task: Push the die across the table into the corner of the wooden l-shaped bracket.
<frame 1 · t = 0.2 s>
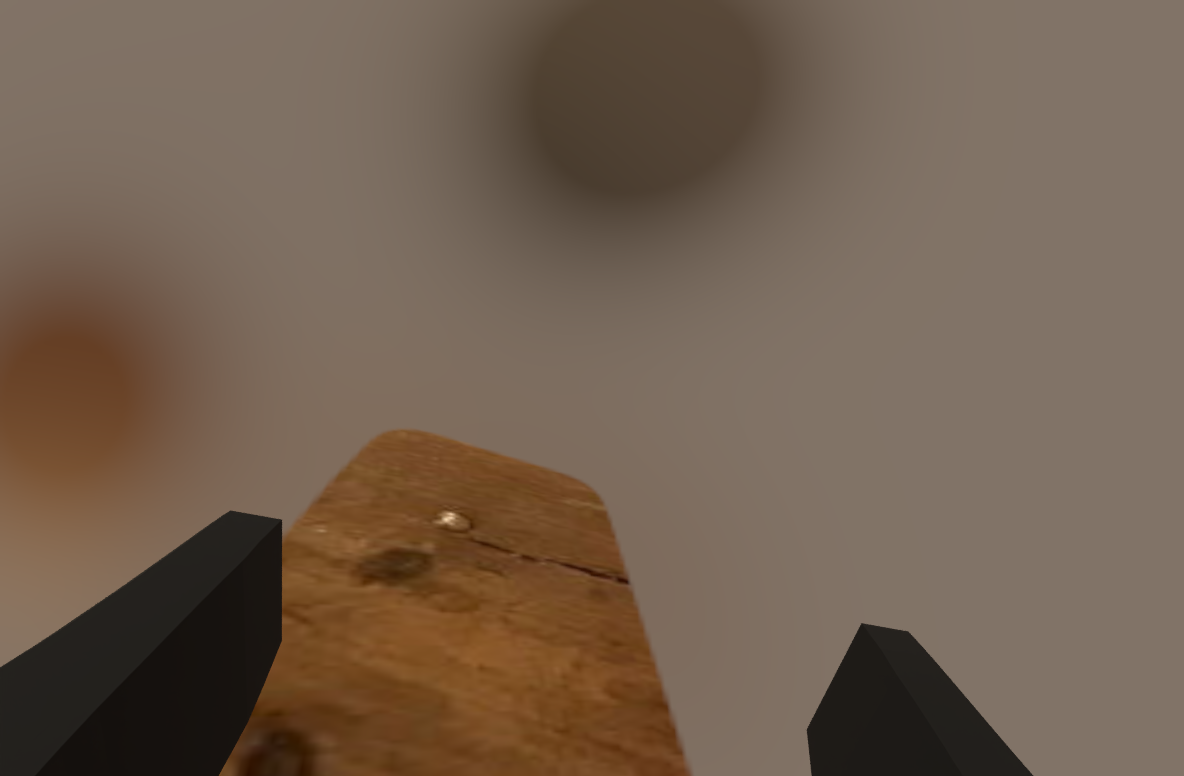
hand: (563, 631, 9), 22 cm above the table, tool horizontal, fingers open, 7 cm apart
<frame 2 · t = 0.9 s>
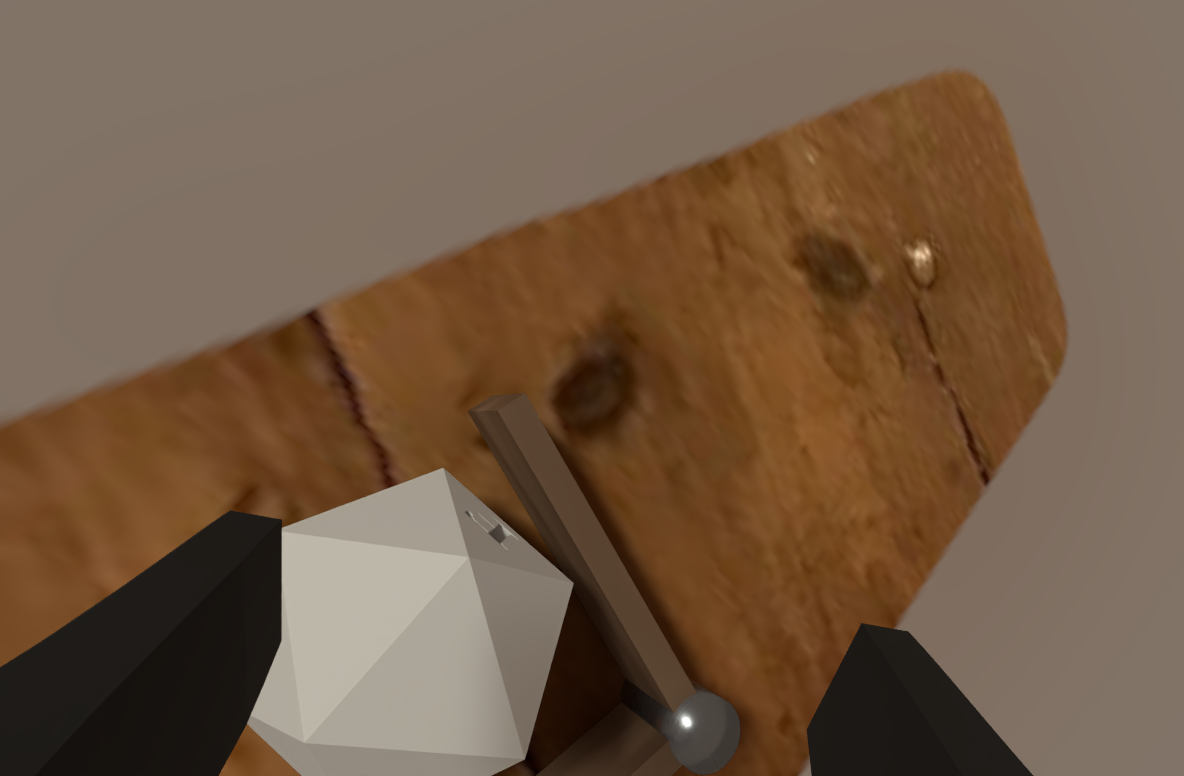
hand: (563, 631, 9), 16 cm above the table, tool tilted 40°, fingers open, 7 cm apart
die: (385, 605, 24), on the table
wooden l-shaped bracket: (346, 671, 23), on the table
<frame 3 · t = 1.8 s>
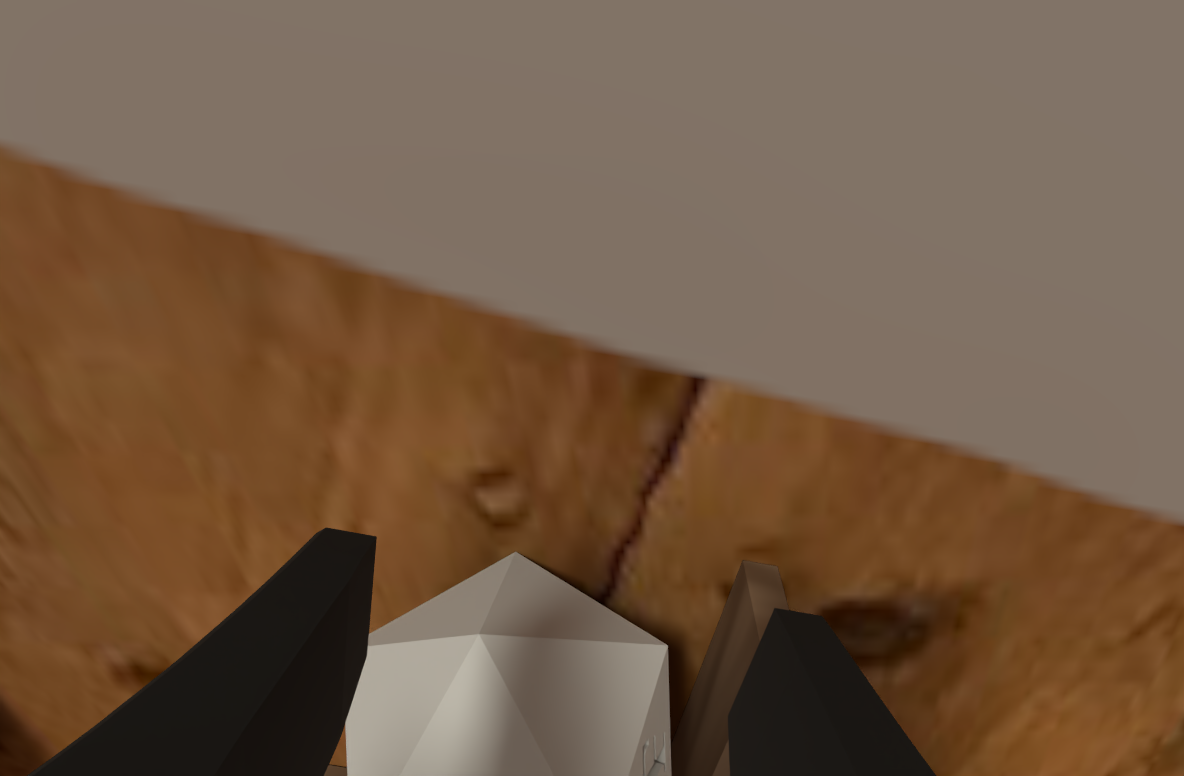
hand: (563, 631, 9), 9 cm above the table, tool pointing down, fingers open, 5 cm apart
die: (526, 622, 23), on the table
wooden l-shaped bracket: (455, 640, 23), on the table
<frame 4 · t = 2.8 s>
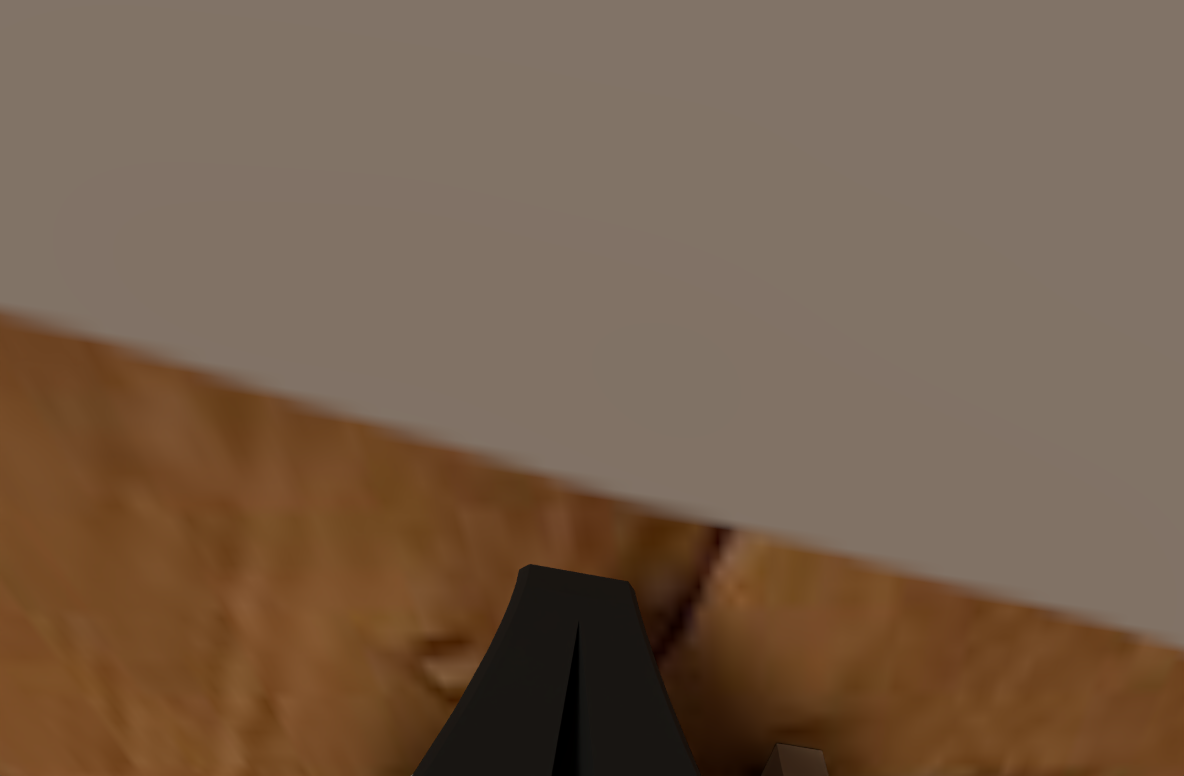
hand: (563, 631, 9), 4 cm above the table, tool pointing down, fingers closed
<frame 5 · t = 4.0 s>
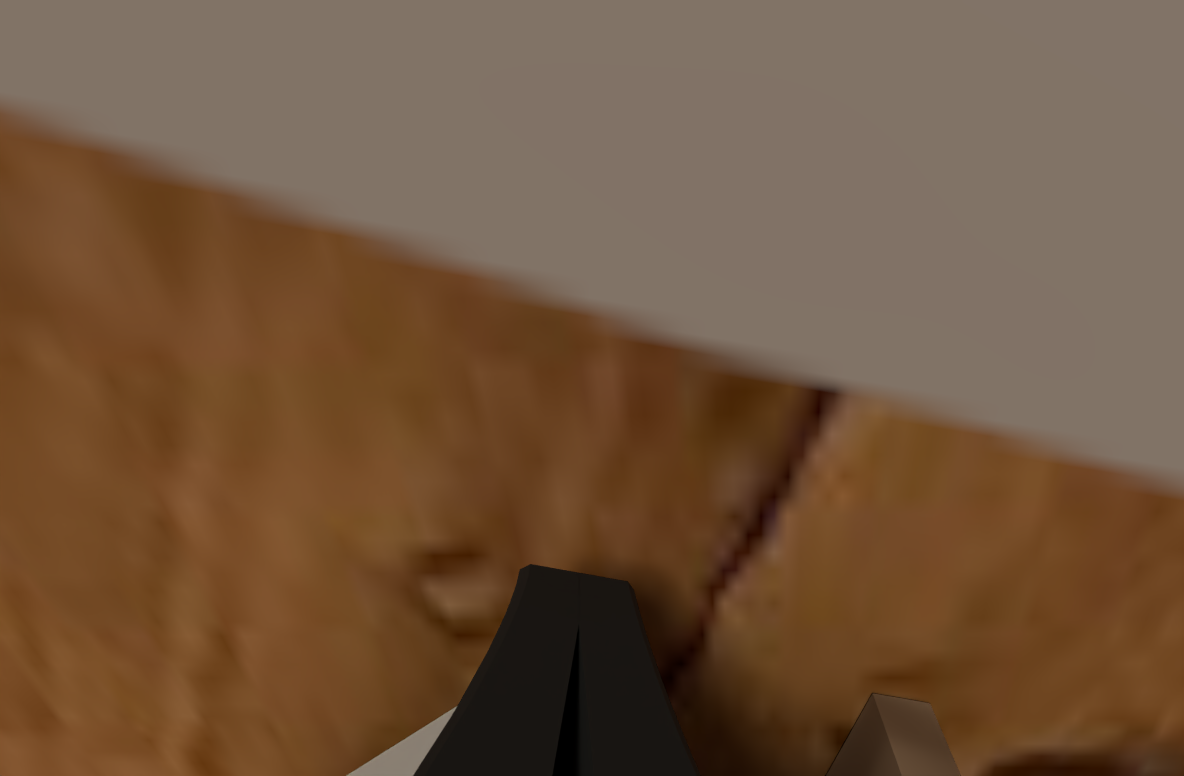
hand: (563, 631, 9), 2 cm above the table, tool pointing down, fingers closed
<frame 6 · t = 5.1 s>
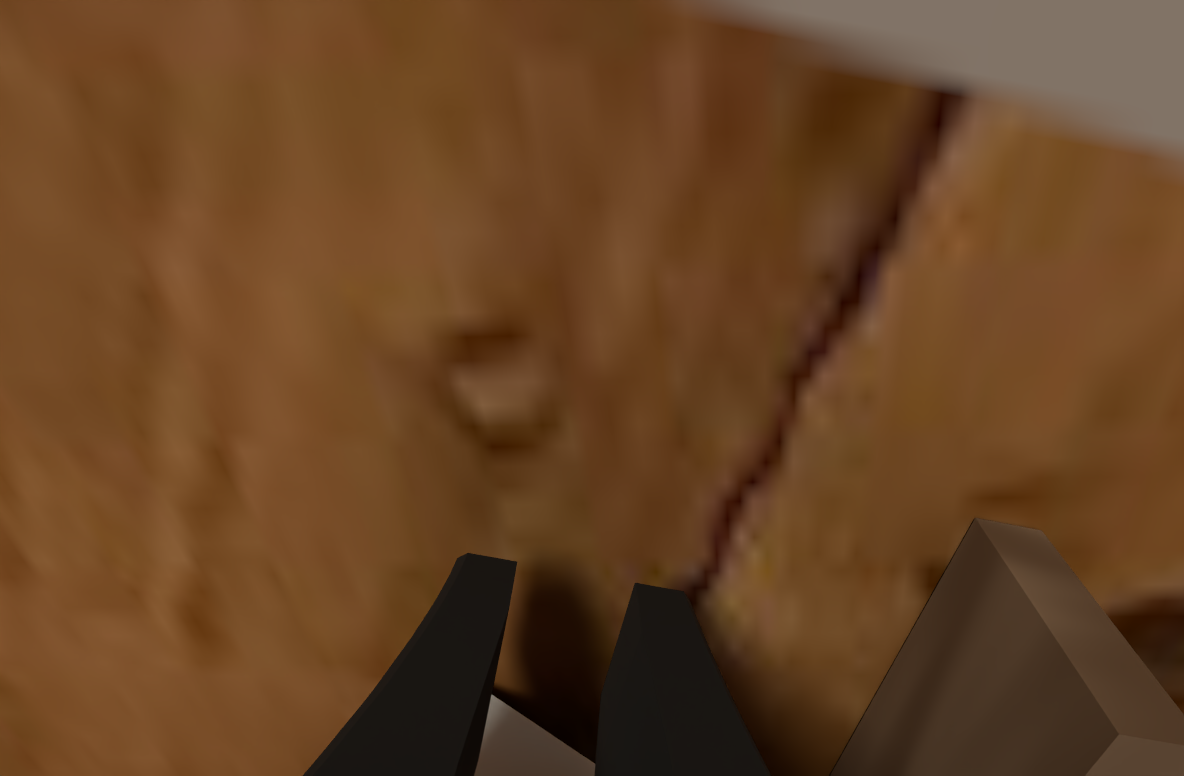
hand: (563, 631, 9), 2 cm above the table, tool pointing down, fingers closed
die: (504, 772, 14), on the table, touching wooden l-shaped bracket, gripper
wooden l-shaped bracket: (419, 669, 13), on the table
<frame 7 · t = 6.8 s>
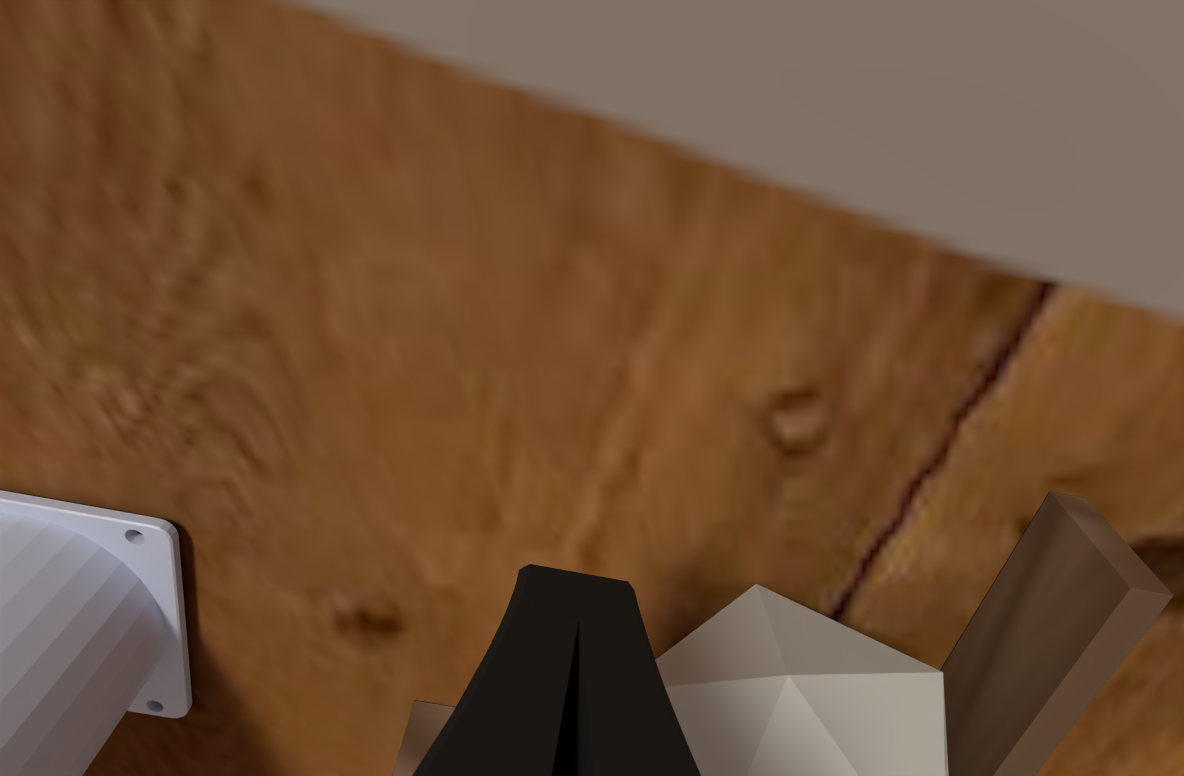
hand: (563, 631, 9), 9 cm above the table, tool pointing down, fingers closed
die: (757, 651, 23), on the table, touching wooden l-shaped bracket
wooden l-shaped bracket: (715, 583, 21), on the table
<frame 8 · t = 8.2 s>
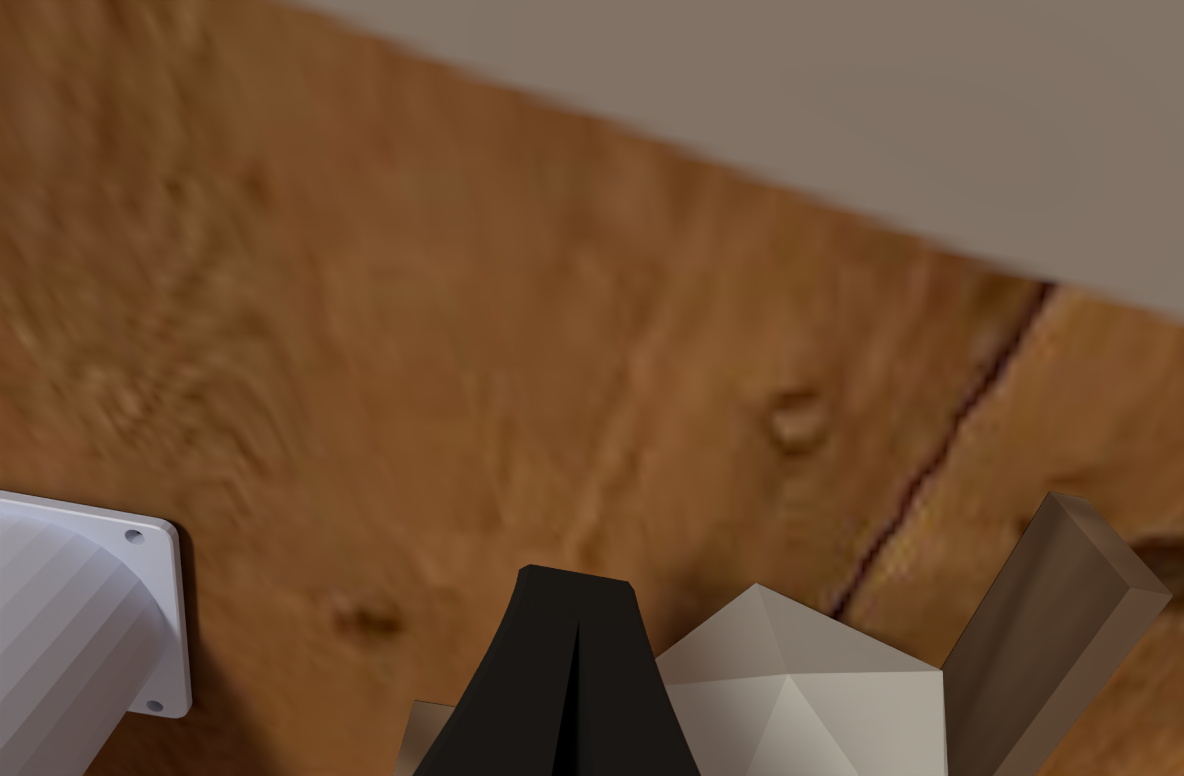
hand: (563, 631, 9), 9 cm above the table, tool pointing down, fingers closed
die: (757, 650, 23), on the table
wooden l-shaped bracket: (715, 583, 21), on the table
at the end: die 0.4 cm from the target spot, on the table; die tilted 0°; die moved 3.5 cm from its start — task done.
